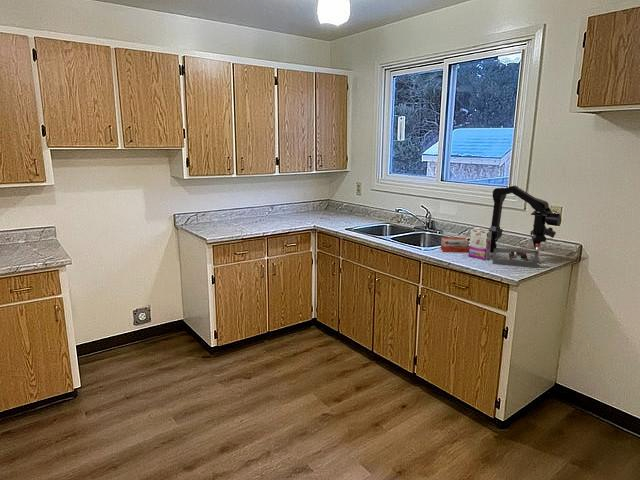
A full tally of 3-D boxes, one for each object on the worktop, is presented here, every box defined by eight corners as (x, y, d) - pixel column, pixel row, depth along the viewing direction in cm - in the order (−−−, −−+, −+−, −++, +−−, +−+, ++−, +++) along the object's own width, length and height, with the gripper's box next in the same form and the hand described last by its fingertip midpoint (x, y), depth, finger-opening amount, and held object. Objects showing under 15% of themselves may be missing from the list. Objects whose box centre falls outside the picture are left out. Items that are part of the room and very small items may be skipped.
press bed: (492, 263, 235) (494, 248, 233) (492, 261, 241) (493, 245, 239) (536, 268, 227) (538, 251, 225) (535, 265, 233) (537, 249, 231)
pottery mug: (526, 265, 234) (519, 252, 234) (510, 269, 241) (503, 256, 241) (533, 256, 241) (527, 243, 241) (518, 260, 249) (512, 248, 248)
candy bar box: (489, 258, 245) (492, 231, 242) (485, 260, 242) (488, 232, 239) (472, 255, 254) (474, 228, 250) (467, 256, 251) (470, 229, 247)
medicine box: (442, 252, 260) (443, 240, 259) (440, 249, 268) (441, 237, 267) (467, 253, 259) (468, 240, 258) (464, 249, 267) (465, 237, 265)
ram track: (532, 262, 237) (532, 261, 237) (530, 256, 250) (530, 255, 250) (539, 263, 236) (539, 262, 236) (537, 257, 249) (537, 256, 248)
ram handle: (533, 260, 238) (535, 243, 235) (532, 259, 240) (534, 242, 238) (539, 261, 237) (541, 243, 234) (538, 260, 239) (540, 242, 237)
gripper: (558, 227, 226) (554, 255, 229) (553, 221, 243) (549, 247, 246) (535, 226, 230) (531, 253, 233) (531, 220, 247) (528, 246, 250)
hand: (536, 250), depth 241 cm, fingers closed
